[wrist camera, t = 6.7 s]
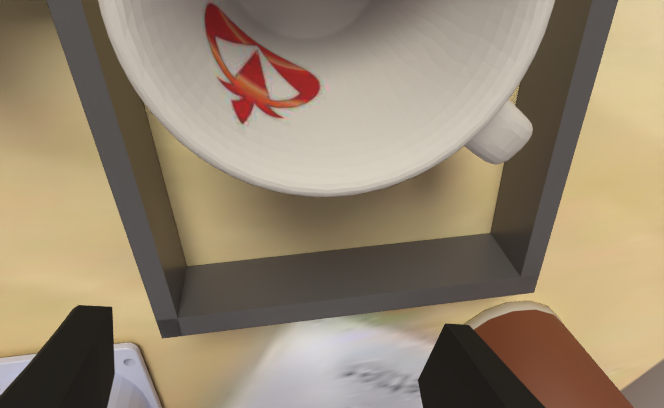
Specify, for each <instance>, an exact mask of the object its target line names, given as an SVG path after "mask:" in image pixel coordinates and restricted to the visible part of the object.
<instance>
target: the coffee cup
mask: <svg viewBox="0 0 664 408" xmlns="http://www.w3.org/2000/svg"><path fill="white" fill-rule="evenodd" d="M464 325H469V326H470V327H471V328H472V329H473V330H474V331H475V332H476V333H477V334H478V335H479V336H480V337H481V338H482V339H483V340H484V341H485V342H486V344H487V345H488V346H489V347H490V348H491V349H492V350H493V351H494V352H495V353H496V354H497V356H498V357H499V358H500V359H501V360H502V361H503V362H504V363H505V364H506V365H507V367H508V368H509V369H510V370H511V371H512V372H513V373H514V374H515V375H516V376H517V378H518V379H519V380H520V381H521V382H522V383H523V384H524V385H525V386H526V387H527V388H528V389H529V390H530V392H531V393H532V394H533V395H534V396H535V397H536V398H537V399H538V400H539V401H540V402H541V403H542V404H543V405H544V406H545V407H546V408H634V407H633V406H632V405H631V404H630V403H629V401H628V400H627V399H626V398H625V397H624V395H623V394H622V393H621V392H620V391H619V390H618V388H617V387H616V386H615V385H614V384H613V382H612V381H611V380H610V379H609V378H608V377H607V375H606V374H605V373H604V372H603V371H602V369H601V368H600V367H599V366H598V365H597V363H596V362H595V361H594V360H593V359H592V358H591V356H590V355H589V354H588V353H587V352H586V350H585V349H584V348H583V347H582V346H581V345H580V343H579V342H578V341H577V340H576V339H575V337H574V336H573V335H572V334H571V333H570V331H569V330H568V329H567V328H566V327H565V326H564V324H563V323H562V321H561V320H560V319H559V317H558V316H557V315H556V314H555V313H554V312H553V311H552V310H551V309H550V308H549V307H548V306H547V305H543V304H540V303H536V302H533V301H518V302H507V303H504V304H501V305H498V306H495V307H492V308H490V309H487V310H484V311H483V312H481V313H480V314H478V315H477V316H475V317H474V318H472V319H471V320H469V321H468V322H466V323H465V324H464Z"/></svg>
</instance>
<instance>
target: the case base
mask: <svg viewBox="0 0 664 408" xmlns="http://www.w3.org/2000/svg"><path fill="white" fill-rule="evenodd" d="M46 1H47V4H48V7H49V10H50V12H51V15H52V18H53V21H54V24H55V27H56V30H57V33H58V36H59V39H60V42H61V45H62V47H63V50H64V53H65V56H66V59H67V62H68V65H69V68H70V71H71V74H72V77H73V80H74V82H75V85H76V88H77V91H78V94H79V97H80V100H81V103H82V106H83V109H84V112H85V115H86V117H87V120H88V123H89V126H90V129H91V132H92V135H93V138H94V141H95V144H96V147H97V150H98V152H99V155H100V158H101V161H102V164H103V167H104V170H105V173H106V176H107V179H108V182H109V185H110V187H111V190H112V193H113V196H114V199H115V202H116V205H117V208H118V211H119V214H120V217H121V220H122V222H123V225H124V228H125V231H126V234H127V237H128V240H129V243H130V246H131V249H132V252H133V255H134V257H135V260H136V263H137V266H138V269H139V272H140V275H141V278H142V281H143V284H144V287H145V290H146V292H147V295H148V298H149V301H150V304H151V307H152V310H153V313H154V316H155V319H156V322H157V325H158V327H159V330H160V333H161V336H162V338H169V337H177V336H185V335H194V334H202V333H210V332H218V331H226V330H234V329H242V328H250V327H258V326H267V325H275V324H283V323H291V322H299V321H307V320H315V319H323V318H331V317H339V316H348V315H356V314H364V313H372V312H380V311H388V310H396V309H404V308H412V307H420V306H429V305H437V304H445V303H453V302H461V301H469V300H477V299H485V298H493V297H502V296H510V295H518V294H526V293H534V291H535V287H536V284H537V280H538V277H539V273H540V270H541V267H542V263H543V260H544V256H545V253H546V249H547V246H548V242H549V239H550V235H551V232H552V228H553V225H554V221H555V218H556V214H557V211H558V207H559V204H560V200H561V197H562V193H563V190H564V187H565V183H566V180H567V176H568V173H569V169H570V166H571V162H572V159H573V155H574V152H575V148H576V145H577V141H578V138H579V134H580V131H581V127H582V124H583V120H584V117H585V113H586V110H587V106H588V103H589V100H590V96H591V93H592V89H593V86H594V82H595V79H596V75H597V72H598V68H599V65H600V61H601V58H602V54H603V51H604V47H605V44H606V40H607V37H608V33H609V30H610V26H611V23H612V20H613V16H614V13H615V9H616V6H617V2H618V0H555V3H554V6H553V9H552V12H551V16H550V19H549V22H548V25H547V28H546V31H545V34H544V36H543V38H542V41H541V43H540V45H539V48H538V50H537V52H536V54H535V56H534V59H533V60H532V62H531V64H530V66H529V68H528V70H527V71H526V73H525V75H524V77H523V78H522V80H521V83H520V88H519V93H518V98H517V103H516V107H517V108H518V109H519V110H520V111H521V112H522V113H523V114H524V115H525V116H526V117H527V119H528V120H529V121H530V122H531V124H532V128H533V131H532V135H531V137H530V139H529V140H528V142H527V143H526V144H525V145H524V146H523V147H522V149H521V150H519V151H518V152H517V153H516V154H515V155H514V156H512V157H511V158H510V159H509V160H508V161H505V164H504V169H503V174H502V179H501V184H500V189H499V194H498V199H497V204H496V209H495V214H494V219H493V224H492V229H491V233H488V234H479V235H470V236H461V237H452V238H443V239H433V240H424V241H415V242H406V243H397V244H388V245H379V246H370V247H361V248H352V249H342V250H333V251H324V252H315V253H306V254H297V255H288V256H279V257H270V258H261V259H252V260H242V261H233V262H224V263H215V264H206V265H197V266H188V267H187V265H186V262H185V258H184V254H183V250H182V247H181V243H180V239H179V235H178V232H177V228H176V224H175V220H174V217H173V213H172V209H171V205H170V202H169V198H168V194H167V190H166V187H165V183H164V179H163V175H162V172H161V168H160V164H159V160H158V157H157V153H156V149H155V145H154V141H153V138H152V134H151V130H150V126H149V123H148V119H147V115H146V111H145V108H144V104H143V101H142V99H141V98H140V96H139V95H138V94H137V92H136V91H135V89H134V87H133V86H132V84H131V82H130V81H129V79H128V77H127V76H126V74H125V72H124V70H123V68H122V66H121V64H120V62H119V60H118V58H117V56H116V53H115V51H114V49H113V46H112V44H111V41H110V39H109V37H108V34H107V31H106V27H105V24H104V21H103V18H102V15H101V11H100V6H99V2H98V0H46Z"/></svg>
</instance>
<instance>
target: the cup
mask: <svg viewBox="0 0 664 408" xmlns="http://www.w3.org/2000/svg"><path fill="white" fill-rule="evenodd" d="M98 2H99V6H100V11H101V15H102V18H103V21H104V24H105V27H106V31H107V34H108V37H109V39H110V41H111V44H112V46H113V49H114V51H115V53H116V56H117V58H118V60H119V62H120V64H121V66H122V68H123V70H124V72H125V74H126V76H127V77H128V79H129V81H130V82H131V84H132V86H133V87H134V89H135V91H136V92H137V94H138V95H139V96H140V98H141V99H142V101H143V102H144V103H145V105H146V106H147V107H148V109H149V110H150V111H151V113H152V114H153V115H154V116H155V117H156V118H157V120H158V121H159V122H160V123H161V124H162V125H163V126H164V127H165V128H166V129H167V130H168V131H169V132H170V133H171V134H172V135H173V136H174V137H175V138H176V139H177V140H178V141H179V142H180V143H182V144H183V145H184V146H185V147H187V148H188V149H189V150H191V151H192V152H193V153H194V154H196V155H197V156H198V157H200V158H201V159H203V160H204V161H206V162H207V163H209V164H210V165H212V166H214V167H215V168H217V169H219V170H221V171H223V172H224V173H226V174H228V175H230V176H232V177H234V178H237V179H239V180H242V181H244V182H246V183H249V184H251V185H254V186H258V187H261V188H264V189H267V190H271V191H275V192H280V193H285V194H290V195H298V196H306V197H339V196H349V195H357V194H362V193H367V192H371V191H376V190H380V189H383V188H387V187H390V186H393V185H396V184H398V183H401V182H403V181H406V180H408V179H411V178H413V177H415V176H417V175H420V174H421V173H423V172H425V171H427V170H429V169H431V168H432V167H434V166H436V165H438V164H439V163H441V162H442V161H444V160H445V159H447V158H448V157H450V156H451V155H453V154H454V153H456V152H457V151H458V150H459V149H461V148H462V147H463V146H465V147H466V148H467V149H469V150H470V151H471V152H473V153H474V154H475V155H477V156H478V157H480V158H481V159H483V160H484V161H486V162H489V163H491V164H500V163H503V162H505V161H508V160H509V159H510V158H511V157H512V156H514V155H515V154H516V153H517V152H518V151H519V150H521V149H522V147H523V146H524V145H525V144H526V143H527V142H528V140H529V139H530V137H531V135H532V131H533V128H532V124H531V122H530V121H529V120H528V119H527V117H526V116H525V115H524V114H523V113H522V112H521V111H520V110H519V109H518V108H517V107H516V106H515V105H514V104H513V103H512V102H511V101H510V100H509V98H510V96H511V95H512V94H513V92H514V91H515V89H516V88H517V86H518V85H519V83H520V82H521V80H522V78H523V77H524V75H525V73H526V71H527V70H528V68H529V66H530V64H531V62H532V60H533V59H534V56H535V54H536V52H537V50H538V48H539V45H540V43H541V41H542V38H543V36H544V34H545V31H546V28H547V25H548V22H549V19H550V16H551V12H552V9H553V6H554V3H555V0H98Z"/></svg>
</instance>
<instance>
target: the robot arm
mask: <svg viewBox="0 0 664 408" xmlns="http://www.w3.org/2000/svg"><path fill="white" fill-rule="evenodd" d="M418 382H419V388H420V393H421V399H422V404H423V408H546V407H545V406H544V405H543V404H542V403H541V402H540V401H539V400H538V399H537V398H536V397H535V396H534V395H533V394H532V393H531V392H530V390H529V389H528V388H527V387H526V386H525V385H524V384H523V383H522V382H521V381H520V380H519V379H518V378H517V376H516V375H515V374H514V373H513V372H512V371H511V370H510V369H509V368H508V367H507V365H506V364H505V363H504V362H503V361H502V360H501V359H500V358H499V357H498V356H497V354H496V353H495V352H494V351H493V350H492V349H491V348H490V347H489V346H488V345H487V344H486V342H485V341H484V340H483V339H482V338H481V337H480V336H479V335H478V334H477V333H476V332H475V331H474V330H473V329H472V328H471V327H470V326H469V325H461V324H445V325H444V327H443V329H442V331H441V333H440V335H439V337H438V340H437V342H436V344H435V346H434V348H433V350H432V352H431V354H430V356H429V358H428V360H427V363H426V365H425V367H424V369H423V371H422V373H421V375H420V377H419V379H418ZM0 408H162V406H161V404H160V401H159V398H158V396H157V393H156V391H155V388H154V386H153V383H152V380H151V378H150V375H149V373H148V370H147V368H146V365H145V363H144V360H143V357H142V355H141V352H140V350H139V348H138V346H137V345H135V344H133V343H119V344H114V340H113V316H112V307H104V306H84V305H78V306H77V307H75V308H74V309H73V310H72V311H71V312H70V313H69V315H68V316H67V317H66V319H65V320H64V321H63V323H62V324H61V325H60V326H59V328H58V329H57V330H56V332H55V333H54V334H53V335H52V336H51V338H50V339H49V340H48V341H47V343H46V344H45V345H44V346H43V347H42V349H41V350H40V351H39V352H38V353H37V354H30V355H22V356H13V357H5V358H0Z"/></svg>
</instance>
